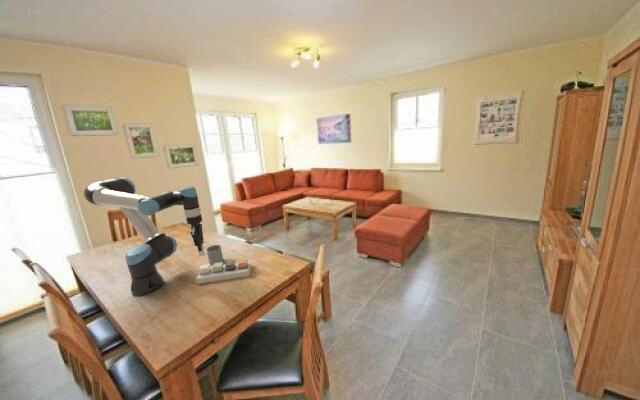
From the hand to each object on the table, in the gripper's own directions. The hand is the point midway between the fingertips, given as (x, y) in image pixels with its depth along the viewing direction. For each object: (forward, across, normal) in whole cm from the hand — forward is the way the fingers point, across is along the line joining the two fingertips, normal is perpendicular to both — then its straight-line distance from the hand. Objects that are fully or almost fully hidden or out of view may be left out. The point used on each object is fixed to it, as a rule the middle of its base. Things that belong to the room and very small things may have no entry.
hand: (202, 255), depth 140 cm
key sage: (+11, 0, -7) cm, 13 cm away
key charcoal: (+11, 0, -14) cm, 18 cm away
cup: (+14, +18, -1) cm, 23 cm away
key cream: (+11, 0, 0) cm, 11 cm away
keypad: (+14, 0, -10) cm, 18 cm away
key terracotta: (+11, 0, -21) cm, 24 cm away
